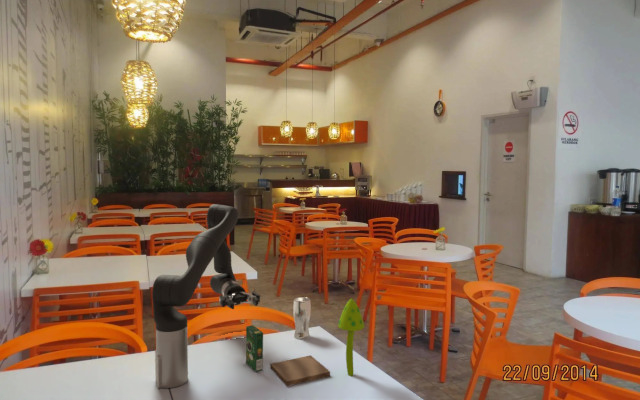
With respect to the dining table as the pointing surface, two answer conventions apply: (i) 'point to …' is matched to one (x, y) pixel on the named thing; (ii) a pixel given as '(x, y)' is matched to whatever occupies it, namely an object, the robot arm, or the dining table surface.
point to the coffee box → (254, 348)
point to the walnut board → (299, 370)
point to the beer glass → (301, 317)
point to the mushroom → (350, 329)
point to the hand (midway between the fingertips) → (245, 304)
